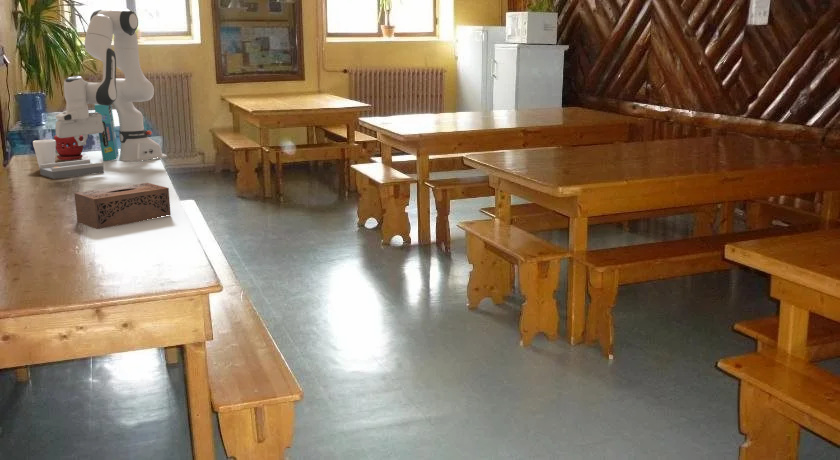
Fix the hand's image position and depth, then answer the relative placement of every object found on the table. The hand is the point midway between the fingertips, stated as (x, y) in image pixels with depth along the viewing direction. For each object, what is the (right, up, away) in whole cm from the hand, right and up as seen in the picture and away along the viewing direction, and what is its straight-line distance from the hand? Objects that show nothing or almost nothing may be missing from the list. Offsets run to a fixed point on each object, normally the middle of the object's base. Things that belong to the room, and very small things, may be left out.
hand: (82, 145), depth 358 cm
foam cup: (-20, -10, +10) cm, 25 cm away
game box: (-4, -2, +44) cm, 44 cm away
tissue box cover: (+51, -34, -87) cm, 107 cm away
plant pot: (-22, -3, +39) cm, 45 cm away
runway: (-4, -13, -1) cm, 13 cm away
